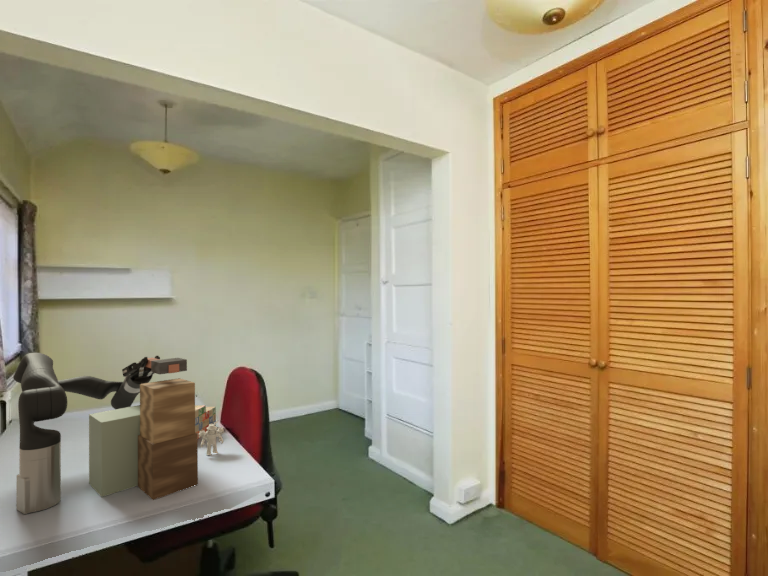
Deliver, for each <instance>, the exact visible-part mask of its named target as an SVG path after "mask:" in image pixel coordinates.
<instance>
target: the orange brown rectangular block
mask: <svg viewBox="0 0 768 576" xmlns="http://www.w3.org/2000/svg"><path fill="white" fill-rule="evenodd" d="M147 358H148V363H147V364H146V366H145V367H148V368H151V372H153V373H154V374H157V375H165V374H174V373H181V372H187V371H188V360H187V359H185V358H183V357H172V358H164V359H163V358H162V359H161V358H160V359H156V358H155V357H147Z"/></svg>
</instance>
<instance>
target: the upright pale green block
mask: <svg viewBox="0 0 768 576" xmlns="http://www.w3.org/2000/svg"><path fill="white" fill-rule="evenodd" d="M138 435H140V404H138V405H131V406H130V407H126V408H121V409H109V410H106V411H99V412H93V413H89V414H88V483H89V486H91V487H92V488H93V489H94V491H96V492H97V493H96V494H98V495H99V496H100V497H101V498H102V497H106V496H108V495H112V494H116V493H118V492H121V491H125V490H128V489H131V488H134V487H138Z"/></svg>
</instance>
